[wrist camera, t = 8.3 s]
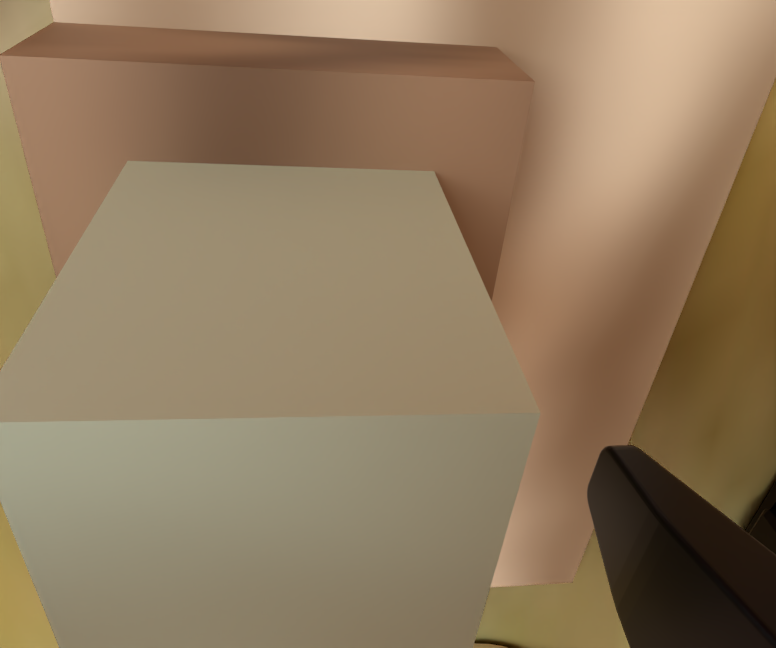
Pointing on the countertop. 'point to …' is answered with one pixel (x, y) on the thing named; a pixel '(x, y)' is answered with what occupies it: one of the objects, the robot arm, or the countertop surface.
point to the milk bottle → (487, 646)
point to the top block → (264, 416)
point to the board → (570, 197)
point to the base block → (265, 115)
